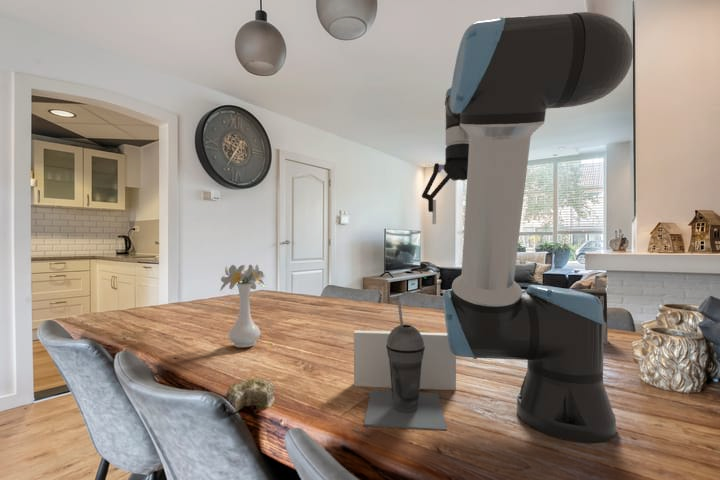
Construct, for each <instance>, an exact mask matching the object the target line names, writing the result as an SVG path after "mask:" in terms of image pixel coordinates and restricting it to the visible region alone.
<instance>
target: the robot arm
mask: <svg viewBox="0 0 720 480" xmlns="http://www.w3.org/2000/svg"><path fill="white" fill-rule="evenodd" d="M632 43H633V42H632V39H631V37H630V35H629V33H628V31H627V30H626V28H625V27H624V26H623V25H622V24H621V23H619V22H618V21H617V20H615V19H614V18H612V17H610V16H607V15H604V14H601V13H597V12H589V11H588V12H587V11H584V12H583V11H582V12H573V13H567V14H566V13H565V14H564V13H560V14H559V13H558V14H543V15H541V14H540V15H524V16H523V15H522V16H508V17H507V16H505V17H504V16H502V17H499V18H494V19H489V20H488V19H487V20H482V21H476V22H474V23H472V24H471V25H469V27H467V28H466V29H465V31H464V33H463V34H462V38H461V41H460V43H459V47H458V50H457V55H456V59H455V64H454V69H453V73H452V74H453V76H452V82H451V87H449V88H448V89H447V90H446V93H445V99H444V100H445V101H444V106H445V146H446V147H445V148H444V149H445V150H444V151H445V152H444V153H445V154H444V155H445V156H444V157H445V159H444V160H445V161H444V162H445V163H444V164H439V163H438V162H436V163H434V165H433V170H432V171H433V173H432V174H431V176H430V178H429V180H428V183H427V184H426V185H425V189H424V190H423V191H422V194H421V199H425V200H427V203H428V204H427V205H428V207H427V208H428V212H429V213H431V214H432V216H431V218H432V219H431V221H432V225H436V224H437V199H434V198H435V197H436V196H437V194H438V193H440V191H441V190H442V189H443V187H444V186H445V185H446V184H447V183H448V182H449V180H450V179H451V180H452V181H454V182H455V181H456V182H457V181H466V190H465V191H466V192H465V206H464V207H465V209H464V210H465V211H464V225H463V240H462V241H463V244H462V258H461V260H462V262H461V274H460V275H459V276H457V277H455V279H453V281H452V284H451V291H450V290H448V291H446V292H443V293H442V304H443V305H442V306H443V313H444V322H445V328H446V333H447V336H448V342H449V347H450V350H451V352H452V353H453V354H454V355H456V357H461V358H462V357H463V358H471V359H474V360H477V359H493V360H495V359H496V360H515V361H517V360H518V361H527V367H526V369H527V370H526V374H525V375H524V379H523V381H522V384H521V387H520V391H519V393H518V395H517V399H516V413H517V415H518V417H519V418H520V419H521V420H522V421H523V422H524V423H525V424H526V425H528V426H530V427H531V428H533V429H534V430H536V431H539V432H540V433H542V434H546V435H548V436H552V437H554V438H557V439H562V440H565V441H570V442H575V443H586V444H593V443H595V444H597V443H603V442H604V443H605V442H607V441H610V440H612V439H613V438H614V437H616V434H617V433H616V432H617V419H616V415H615V413H614V412H613V408H612V404H611V402H610V399H609V395H608V393H607V390H606V388H605V384H604V344H603V339H604V325H605V322H604V317H603V307H602V303H601V301H600V300H599V299H598V298H597V297H595V296H593V295H591V294H587V293H583V292H579V291H574V289H567V288H562V287H558V286H557V287H556V286H550V285H541V284H529V285H527V288H526V292H525V293H524V292H523V289H522V287H521V286H520V285H519V283H517V282H516V281H515V275H516V274H515V273H516V268H517V267H516V264H517V257H518V247H519V240H520V239H519V238H520V231H521V224H522V223H521V221H522V213H523V207H524V205H523V204H524V199H525V198H524V197H525V190H526V188H525V187H526V181H527V179H526V178H527V173H528V164H529V163H528V162H529V155H530V153H529V152H530V147H531V146H530V145H531V137H532V136H533V134H534V133H535V132H536V131H537V130H538V129H539V128H540V127H542V126H543V125H544V124H545V120H546V112H547V110H548V109H549V110H550V109H560V108H573V107H577V106H582V105H586V104H590V103H593V102H595V101H598V100H601V99H602V98H604V97H606V96H607V95H609V94H611V93H612V92H613V91H614V90H615V89H617V87H618V86H620V84H621V83H622V82H623V81H624V79H625V78H626V76H627V74H628V73H629V71H630V68H631V66H632V62H633V57H634V53H633V52H634V48H633V47H634V46H633V44H632ZM442 170H443V171H444V172H445V173H446V176H445V177H444V178H443V179H442V180H441V181H440V183H439V184H438V185H437V186H436V188H435V189H434V190H433V191H432V192H431V193H430V194H428V193H429V191H431V188H432V186H433V183H434V182H435V180H436V178H437V177H438V176H437V175H438V174H439V173H441V172H442Z"/></svg>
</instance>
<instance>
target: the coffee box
mask: <svg viewBox="0 0 720 480" xmlns="http://www.w3.org/2000/svg"><path fill="white" fill-rule="evenodd" d="M573 290H574V291H579V292H583V293H587V294H591V295H593V296H595V297H597V298H598V299H599V300H600V301H601V303H602V307H603V317H604V322H605V325H604V339H603V345H608V343H609V342H608V293H607V290H606V289H593V288H591V289H590V288H589V289H588V288H574V289H573Z"/></svg>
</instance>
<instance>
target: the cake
mask: <svg viewBox="0 0 720 480" xmlns="http://www.w3.org/2000/svg"><path fill="white" fill-rule="evenodd" d="M226 400H227V401H229V402H230V404H231V405H232V406H233V407H234V408H235V410H236V411H237V412H238V411H239V410H240V411H241V409H243V408H244V407H249V406H257V407H259V408H260V407H261V408H265V409H270V408H271V406H272V405H273V404H275V401H276V397H275V396H274V384H273V383H272V382H270V381H268V380H266V379H263V378H262V379H261V378H255V379H254V378H251V379H244V380H243V379H242V380H241V381H239V382H237V383H236V382H234V384H232V385H231V386H229V388H228V389H227V391H226Z"/></svg>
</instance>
